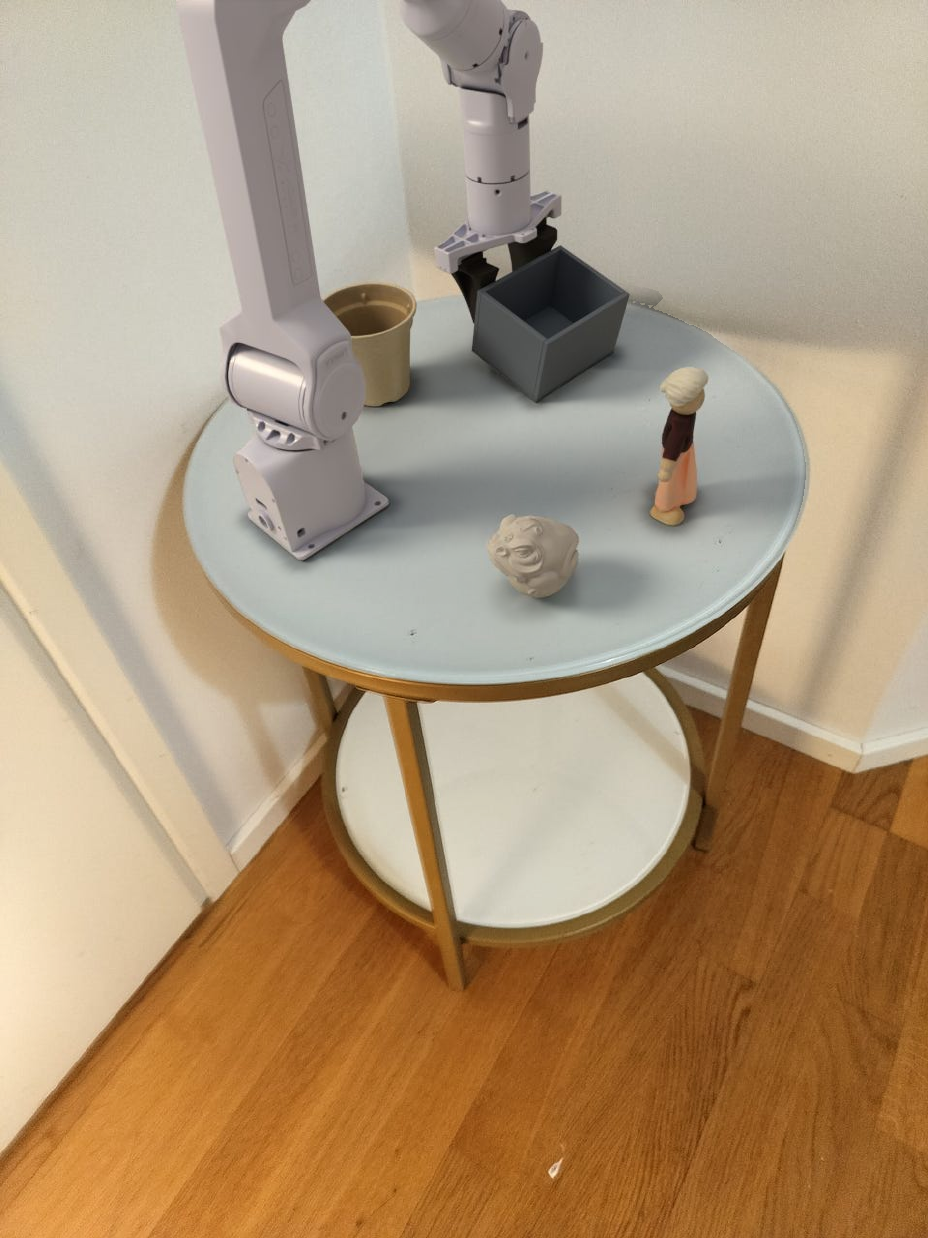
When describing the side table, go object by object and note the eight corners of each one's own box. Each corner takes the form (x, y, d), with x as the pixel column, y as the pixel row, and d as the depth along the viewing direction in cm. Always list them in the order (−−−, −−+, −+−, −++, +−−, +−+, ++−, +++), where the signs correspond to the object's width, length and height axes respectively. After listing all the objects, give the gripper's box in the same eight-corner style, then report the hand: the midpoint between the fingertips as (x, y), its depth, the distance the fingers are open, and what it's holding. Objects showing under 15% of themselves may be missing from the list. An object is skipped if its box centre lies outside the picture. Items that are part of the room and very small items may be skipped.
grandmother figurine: (695, 535, 68) (719, 401, 59) (646, 533, 69) (661, 399, 60) (694, 472, 73) (716, 339, 64) (648, 470, 74) (663, 338, 64)
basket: (536, 403, 81) (547, 344, 75) (452, 335, 85) (457, 275, 79) (613, 352, 86) (630, 293, 80) (530, 291, 90) (540, 230, 84)
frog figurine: (478, 575, 67) (471, 509, 62) (559, 548, 69) (560, 480, 63) (508, 630, 64) (504, 564, 58) (594, 600, 65) (598, 532, 60)
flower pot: (424, 415, 81) (413, 333, 75) (325, 420, 82) (306, 339, 76) (428, 359, 88) (419, 278, 81) (337, 364, 88) (320, 284, 82)
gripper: (468, 213, 71) (478, 358, 81) (587, 153, 77) (583, 295, 87) (412, 190, 75) (429, 331, 85) (530, 134, 80) (532, 273, 91)
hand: (503, 312), depth 86 cm, fingers closed on basket, 5 cm apart
